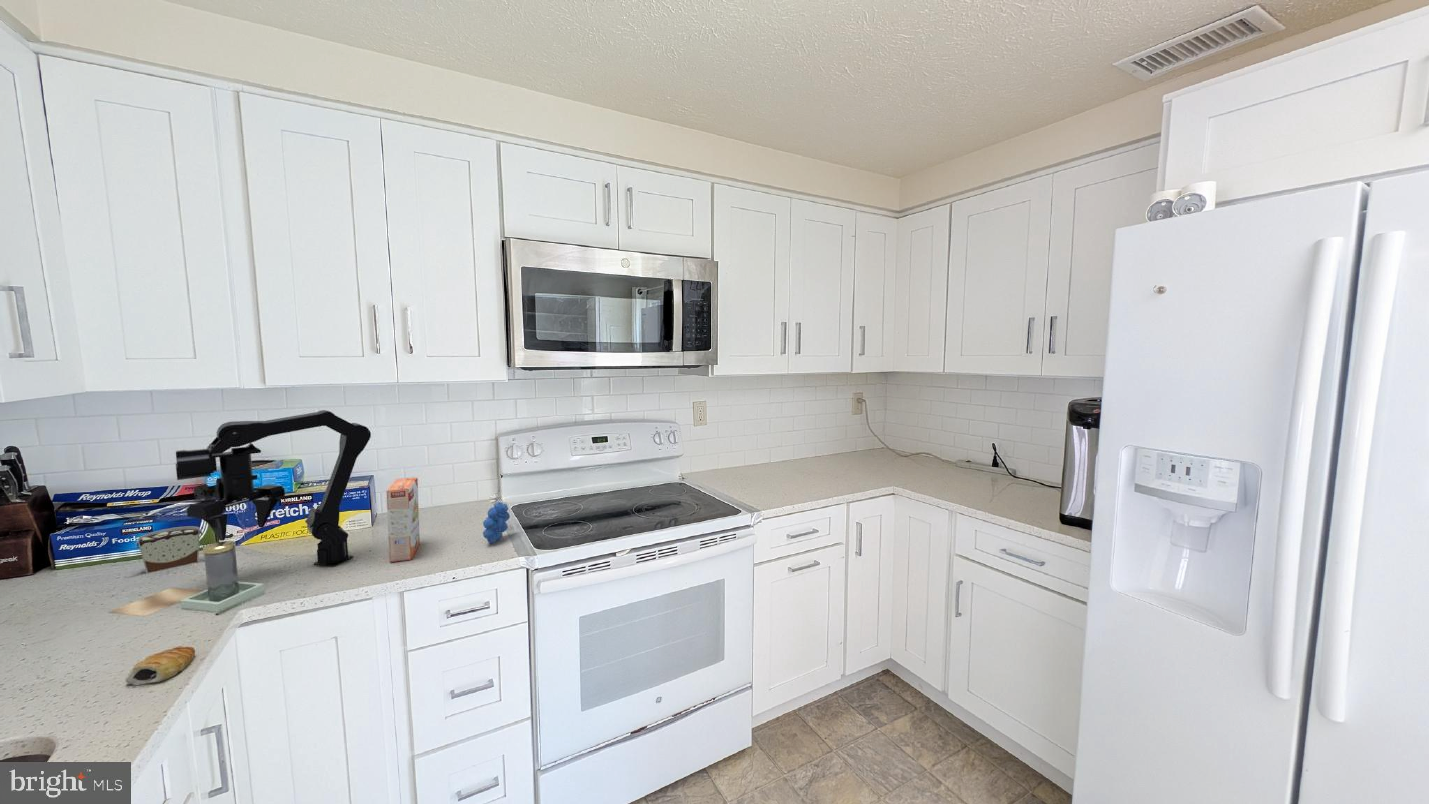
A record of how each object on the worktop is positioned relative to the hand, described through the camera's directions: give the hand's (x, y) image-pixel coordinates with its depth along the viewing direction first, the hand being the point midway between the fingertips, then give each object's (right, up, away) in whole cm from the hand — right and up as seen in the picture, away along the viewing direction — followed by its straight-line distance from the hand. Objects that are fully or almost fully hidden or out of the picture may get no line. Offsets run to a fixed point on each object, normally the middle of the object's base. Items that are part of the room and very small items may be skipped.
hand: (242, 533), depth 127 cm
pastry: (+17, -17, -34) cm, 41 cm away
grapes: (+50, -11, +31) cm, 60 cm away
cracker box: (+28, -11, +21) cm, 37 cm away
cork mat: (-11, -14, -9) cm, 20 cm away
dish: (+4, -14, -8) cm, 17 cm away
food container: (-29, -12, +11) cm, 33 cm away
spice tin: (+4, -13, -8) cm, 16 cm away
